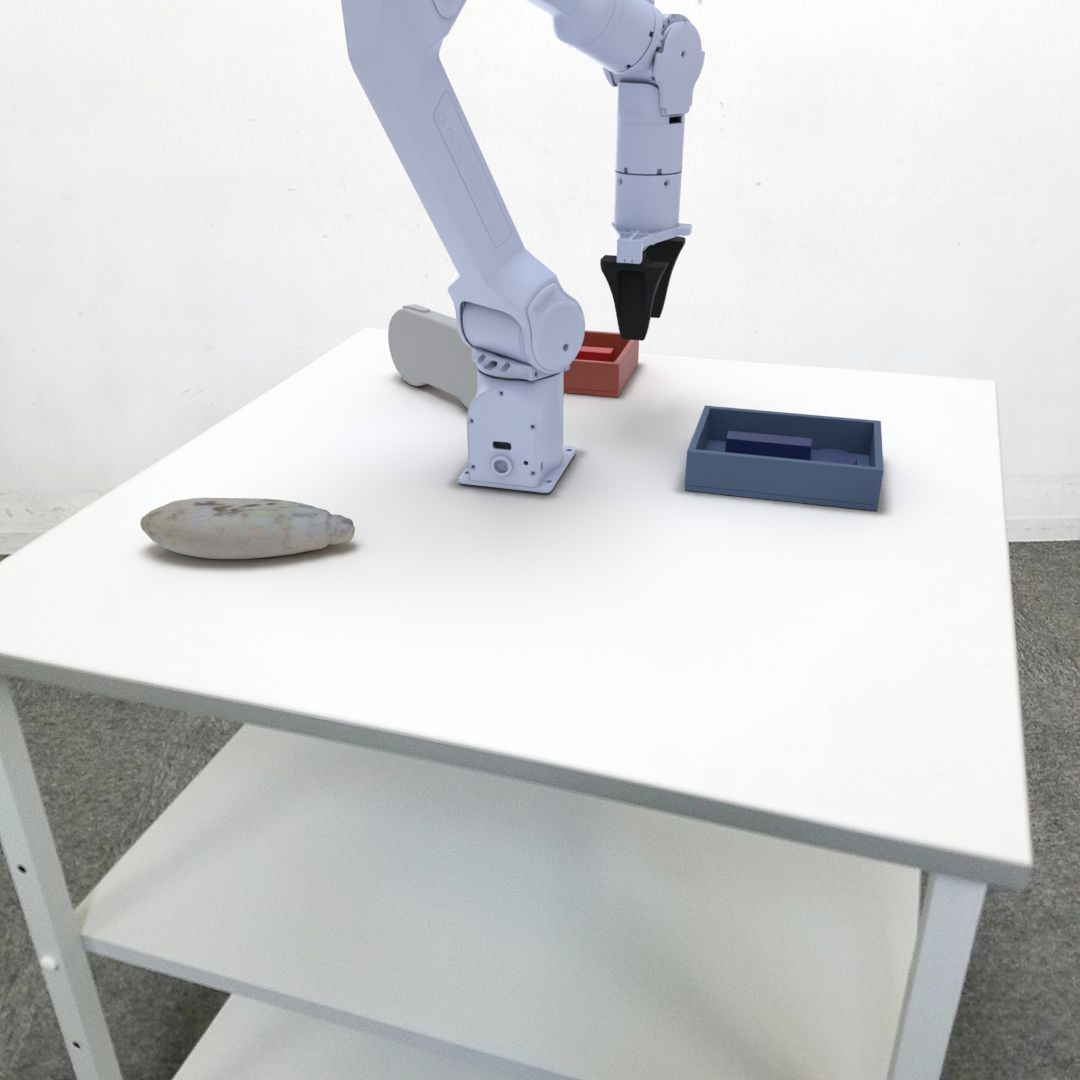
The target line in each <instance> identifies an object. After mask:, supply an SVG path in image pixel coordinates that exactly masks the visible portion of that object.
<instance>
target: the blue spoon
mask: <svg viewBox="0 0 1080 1080" xmlns="http://www.w3.org/2000/svg"><path fill="white" fill-rule="evenodd" d="M811 448H812V439H811V438H801V437H790V436H779V435H768V434H758V433H747V432H736V431H729V432H728V435H727V438H726V448H725V452H728V453H738V454H749V455H759V456H769V457H779V458H789V459H800V460H810V461H820V462H830V463H841V464H851V465H857V458H856V457H855V456H854V455H852V454H850V453H848V452H845V451H841V450H836V449H819V450H814V451H812V452H811Z"/></svg>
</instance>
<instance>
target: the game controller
mask: <svg viewBox="0 0 1080 1080" xmlns="http://www.w3.org/2000/svg"><path fill="white" fill-rule="evenodd" d="M387 341H388V348H389V352H390V356H391V359H392V362H393V365H394V367H395V369H396V371H397V372H398V374H399V376H400V377H401V378H402V380H404V381H405V382H406V383H408V384H409V385H411V386H414V387H421V386H426V385H430V386H431V387H434V388H437V389H439V390H441V391H443V392H446V393H448V394H451V395H452V396H454V397H456V398H458V399H459V400H460V401H461V403H462V404H463V405H464V406H465V408H466V409H467V410H468V409H469V406H470V404H471V402H472V401H473V399H474V398H475V396H476V394H477V364H476V363H475V362H473V361H472V350H471V348H470V347H469V346H467V345H466V344H465V343H464V341H463V340H462V339H461V337H460V335H459V332H458V329H457V324H456V317H455V318H454V317H452V316H449V315H446V314H444V313H441V312H437V311H435V310H432V309H430V308H428V307H426V306H422V305H419V304H415V303H414V304H413V303H411V304H407V305H403V306H402V308H400V309H397V310H396V311H395V312H394V313H393V315H392V316H391V318H390V321H389V323H388V330H387Z"/></svg>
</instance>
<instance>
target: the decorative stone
mask: <svg viewBox="0 0 1080 1080" xmlns="http://www.w3.org/2000/svg"><path fill="white" fill-rule="evenodd" d="M140 527H141V530H142V531H143V532H144V533H145V535H146V536H147V537H148V538H149V539H151V541H152V542H154V543H155V544H157V545H158V546H160V547H162V548H164V549H165V550H168V551H171V552H173V553H176V554H180V555H184V556H189V557H194V558H201V559H211V560H248V559H263V558H271V557H281V556H290V555H295V554H300V553H306V552H311V551H317V550H321V549H324V548H326V547H328V546H329V545H330V546H331V545H332V546H337V545H341V544H344V543H348V542H350V541H352V540H353V538H354V535H355V532H356V526H355V525H354V521H353V519H351V518H349V517H346V516H344V515H342V514H332V513H331V512H330V511H329V510H327V509H323V508H321V507H317V506H314V505H311V504H306V503H302V502H297V501H291V500H286V499H285V500H284V499H276V498H259V497H252V498H250V497H248V498H247V497H194V498H186V499H179V500H173V501H170V502H168V503H166V504H163V505H162V506H159V507H156V508H155V509H153V510H151V511H149V512H147V514H145V515H144V516H142V518H141V520H140Z"/></svg>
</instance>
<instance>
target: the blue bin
mask: <svg viewBox="0 0 1080 1080" xmlns="http://www.w3.org/2000/svg"><path fill="white" fill-rule="evenodd" d="M703 406H704V407H703V409H702V412H701V414H700V416H699V420H698V422H697V425H696V427H695V430H694V432H693V435H692V438H691V440H690V442H689V445H688V448H687V451H686V460H685V475H684V491H687V492H696V493H707V494H715V495H726V496H733V497H734V496H735V497H742V498H743V497H744V498H752V499H760V500H761V499H762V500H770V501H771V500H772V501H781V502H791V503H798V504H807V505H817V506H825V507H837V508H846V509H854V510H864V511H865V510H866V511H871V512H872V511H873V512H877V511H878V508H879V501H880V494H881V489H882V488H881V487H882V483H883V478H884V477H883V476H884V471H885V470H884V456H883V455H884V454H883V435H882V434H883V433H882V421H881V420H875V419H863V418H854V417H841V416H830V415H829V416H828V415H819V414H807V413H797V412H796V413H794V412H785V411H774V410H771V411H770V410H762V409H761V410H760V409H751V408H737V407H727V406H715V405H703ZM729 431H736V432H747V433H758V434H768V435H779V436H790V437H801V438H811V439H812V448H811V452H812V451H814V450H819V449H836V450H841V451H845V452H848V453H850V454H852V455H854V456H855V457H856V458H857V465H851V464H841V463H830V462H820V461H810V460H800V459H789V458H779V457H769V456H759V455H749V454H738V453H728V452H725V448H726V438H727V435H728V432H729Z"/></svg>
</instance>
